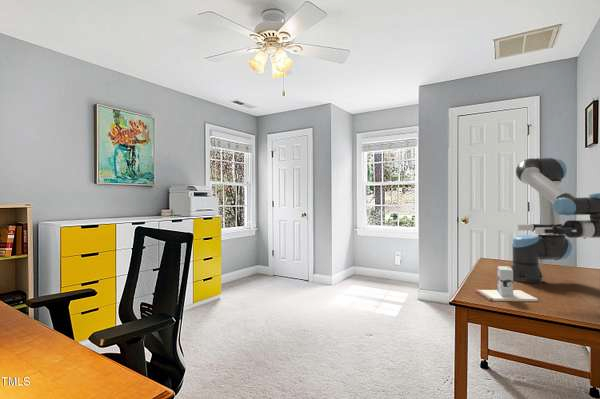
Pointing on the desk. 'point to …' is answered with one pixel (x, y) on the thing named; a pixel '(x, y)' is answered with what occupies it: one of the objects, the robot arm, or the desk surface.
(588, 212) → the robot arm
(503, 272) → the ink box
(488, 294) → the notepad
